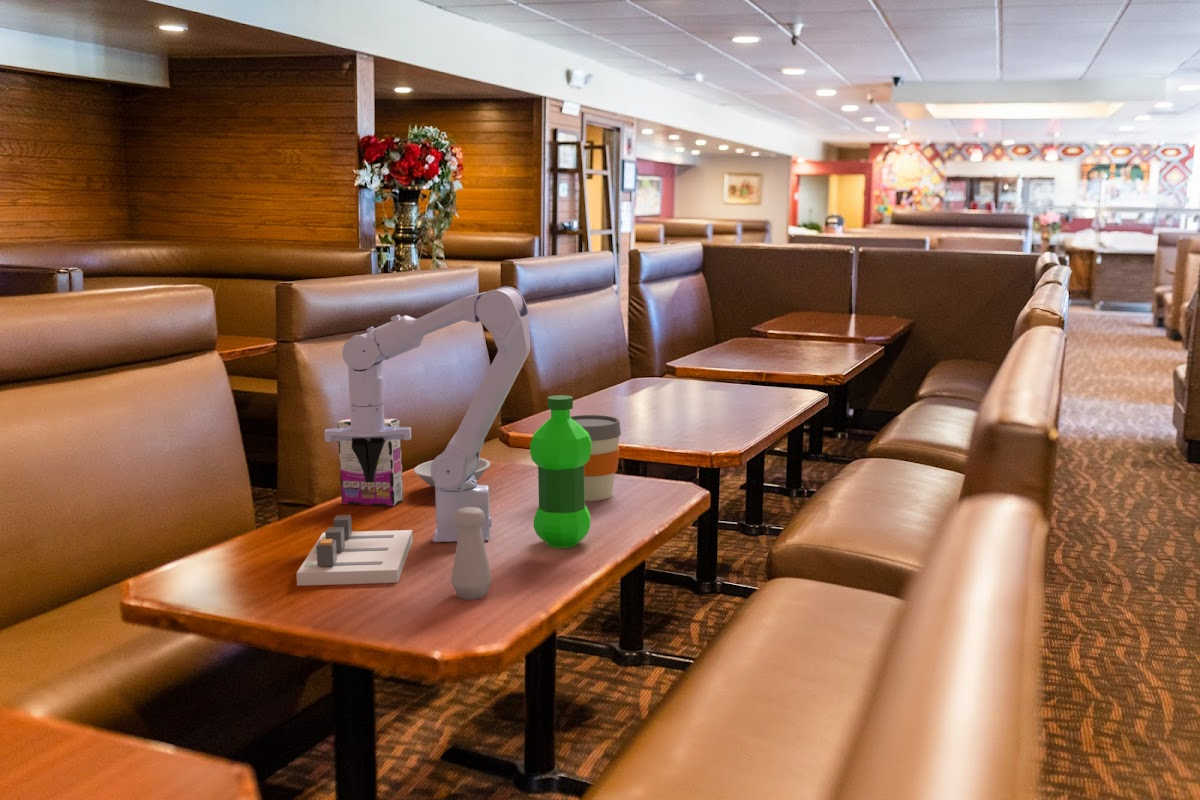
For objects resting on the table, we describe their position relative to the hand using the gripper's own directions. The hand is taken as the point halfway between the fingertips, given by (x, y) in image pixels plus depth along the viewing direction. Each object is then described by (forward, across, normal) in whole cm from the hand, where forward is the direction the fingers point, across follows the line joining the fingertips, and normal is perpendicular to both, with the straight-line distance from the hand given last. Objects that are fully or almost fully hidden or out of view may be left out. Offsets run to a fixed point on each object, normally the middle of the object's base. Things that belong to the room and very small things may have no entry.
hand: (370, 481), depth 187 cm
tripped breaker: (+7, +4, +23) cm, 24 cm away
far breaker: (+7, +3, +9) cm, 12 cm away
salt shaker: (+10, -19, +33) cm, 39 cm away
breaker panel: (+9, 0, +16) cm, 19 cm away
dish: (+10, -12, -29) cm, 33 cm away
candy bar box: (+10, +3, -21) cm, 23 cm away
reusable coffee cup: (+10, -39, -22) cm, 46 cm away
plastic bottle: (+10, -33, +9) cm, 36 cm away
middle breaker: (+7, +4, +16) cm, 18 cm away
